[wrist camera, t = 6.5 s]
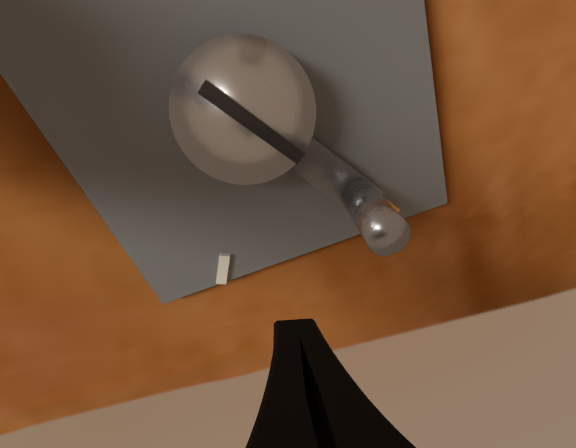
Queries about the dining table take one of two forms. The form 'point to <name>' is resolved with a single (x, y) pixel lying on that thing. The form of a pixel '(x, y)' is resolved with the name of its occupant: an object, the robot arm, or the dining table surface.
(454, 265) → the dining table surface
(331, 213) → the grey square mat
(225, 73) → the grey piece
